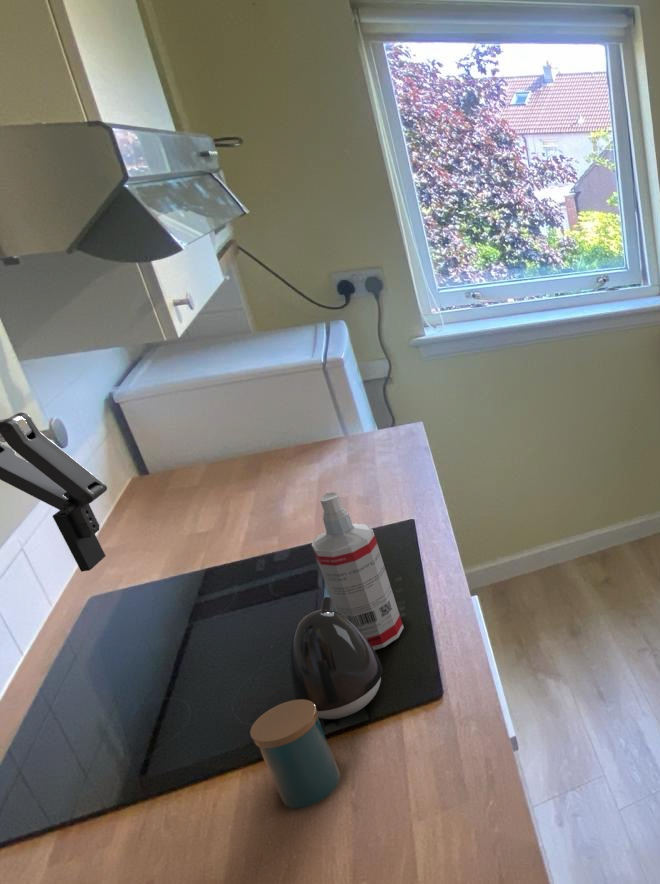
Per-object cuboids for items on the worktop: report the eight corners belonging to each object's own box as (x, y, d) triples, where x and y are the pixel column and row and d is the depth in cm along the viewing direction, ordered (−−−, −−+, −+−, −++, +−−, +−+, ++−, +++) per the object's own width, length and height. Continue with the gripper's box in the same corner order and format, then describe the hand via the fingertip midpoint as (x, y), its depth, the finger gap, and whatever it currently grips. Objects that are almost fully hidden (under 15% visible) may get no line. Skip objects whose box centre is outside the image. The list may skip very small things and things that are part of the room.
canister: (277, 819, 85) (245, 750, 80) (285, 778, 90) (255, 710, 85) (340, 797, 87) (312, 728, 82) (344, 758, 92) (318, 692, 88)
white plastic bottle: (410, 636, 114) (366, 495, 103) (357, 660, 109) (306, 515, 99) (393, 614, 119) (349, 478, 108) (342, 636, 114) (291, 496, 104)
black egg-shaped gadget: (394, 668, 107) (366, 582, 101) (382, 719, 98) (350, 629, 92) (316, 686, 104) (282, 598, 98) (295, 740, 95) (256, 648, 89)
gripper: (92, 349, 71) (175, 536, 80) (-235, 377, 66) (-107, 574, 74) (40, 374, 64) (137, 575, 73) (-329, 408, 59) (-176, 620, 68)
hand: (14, 575), depth 74 cm, fingers open, 13 cm apart
